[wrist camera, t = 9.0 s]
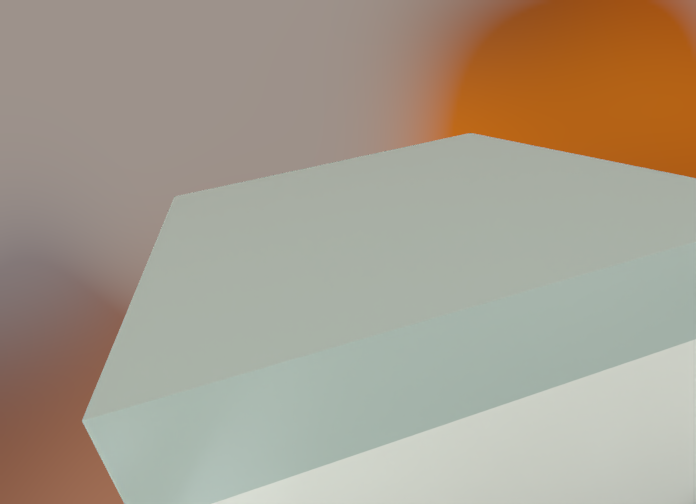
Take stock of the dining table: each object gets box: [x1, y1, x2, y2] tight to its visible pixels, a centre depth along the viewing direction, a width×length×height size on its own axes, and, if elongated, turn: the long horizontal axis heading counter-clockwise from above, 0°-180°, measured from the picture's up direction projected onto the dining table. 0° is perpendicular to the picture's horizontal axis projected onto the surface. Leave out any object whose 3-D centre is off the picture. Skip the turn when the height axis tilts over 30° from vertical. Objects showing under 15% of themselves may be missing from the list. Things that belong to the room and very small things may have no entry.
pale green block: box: [82, 133, 696, 504], centre depth 8 cm, size 6×6×10 cm
